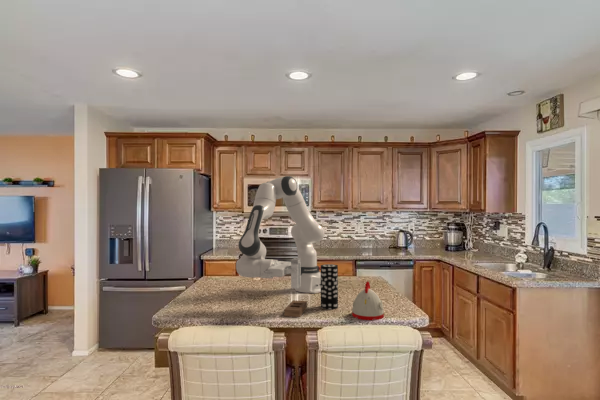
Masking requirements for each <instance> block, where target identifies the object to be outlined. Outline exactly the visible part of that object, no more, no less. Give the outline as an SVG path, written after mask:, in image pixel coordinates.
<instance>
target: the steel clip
mask: <svg viewBox="0 0 600 400" xmlns="http://www.w3.org/2000/svg"><path fill="white" fill-rule="evenodd" d="M290 262H291V269H296V273H291V274H290V276H291V277H290V289H298V286H301V258H298V257H294V258H291V260H290Z"/></svg>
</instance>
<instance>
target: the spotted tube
mask: <svg viewBox="0 0 600 400" xmlns="http://www.w3.org/2000/svg"><path fill="white" fill-rule="evenodd" d="M320 266H321V270H320V272H321V292H320V308H321V309H323V310H336V309H338V308H339V269H338V268H339V267H338V265H337V264H333V263H329V264H328V263H327V264H325V263H323V264H320Z"/></svg>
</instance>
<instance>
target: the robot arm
mask: <svg viewBox="0 0 600 400" xmlns="http://www.w3.org/2000/svg"><path fill="white" fill-rule="evenodd" d="M297 182H298V181H296V179H295V178H294V177H293V176H290V175H286V176H282V177H278V178H275V179H272V180H270V181H266V182H263V183H260V184H259V186H258V188H257V191H256V193H255V197H254V201H253V206H252V208H251V210H250V214H249V216H248V220H247V223H246V225H245V226H246V227H245V230H244V233H242V235H241V237H240V239H239V241H238V250H239V252H241V253H242V256H241V257H240V258H239V259H237V261H236V262H235V270H236V273H237V274H238V276H241V277H243V278H244V277H245V278H251V279H253V278H261V279H274V277H277V278H282V277H284V276H286V275H289V274H290V275H291V273H296V269H291V261H283V260H278V259H272V258H271V259H267V257H266V256H267V252H268V251H267V247H266V246H265V244H264V243H263V242H262V241H261V239H260V236H259V232H260V228H261V224H262V222H263V220H267V219H270V218H271V217H272V216H273V214H274V211H275V210H276V209H275V208H276V203H277V200H280V199H283V202H284V204H285V207H286V210H287V212H288V214H289V217H290V219H291V220H292V221H293V222H295V224H294V225H293V226H292V227H291V229H290V234H291V237H292V238H293V240H294V243H295V246H296V250H297V258H301V286H298V289H295V291H296V292H299V293H307V294H309V293H310V294H317V293H321V265H320V266H319V265H318V257H317V255H318V252H317V250H316V249H315V248H314V244H315V243H319V242H321V241H323V240H324V237H325V229H324V227H323V226H322V225H320V223H318V222H317V221H316V219H315V218H314V217H313V215H312V213H311V212H310V210H309V209H308V206H307V204H306V201H305V198H304V195H302V193H301V190H300V189H299V186H298V183H297Z"/></svg>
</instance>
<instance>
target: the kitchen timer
mask: <svg viewBox="0 0 600 400" xmlns="http://www.w3.org/2000/svg"><path fill="white" fill-rule="evenodd" d="M364 284H365V286H364V289H362V290H361V291H360V292H359V293H358V294H357V295H356V297H355V298H354V299H353V302H352V310H351V316H352V317H353V318H355V319H357V320H362V321H363V320H364V321H379V320H381V319H383V318H384V317H385V315H384V313H385V312H384V304H383V300H382V299H380V297H379V295H378V294H377V293H376V292H375V291H374V290H373V289H371V285H370V281H366V282H365V283H364Z"/></svg>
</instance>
